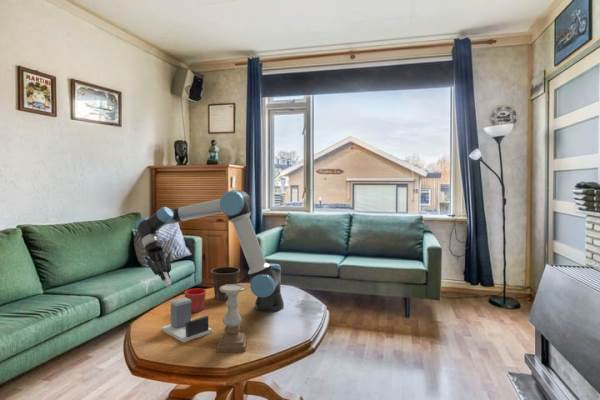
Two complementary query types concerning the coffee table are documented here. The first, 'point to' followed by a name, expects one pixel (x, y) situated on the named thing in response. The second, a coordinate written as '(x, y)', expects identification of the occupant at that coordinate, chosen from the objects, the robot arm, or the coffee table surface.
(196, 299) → the flower pot
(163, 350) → the coffee table surface
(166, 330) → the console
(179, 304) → the grey rectangular block
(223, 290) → the candle holder
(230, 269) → the plant pot
